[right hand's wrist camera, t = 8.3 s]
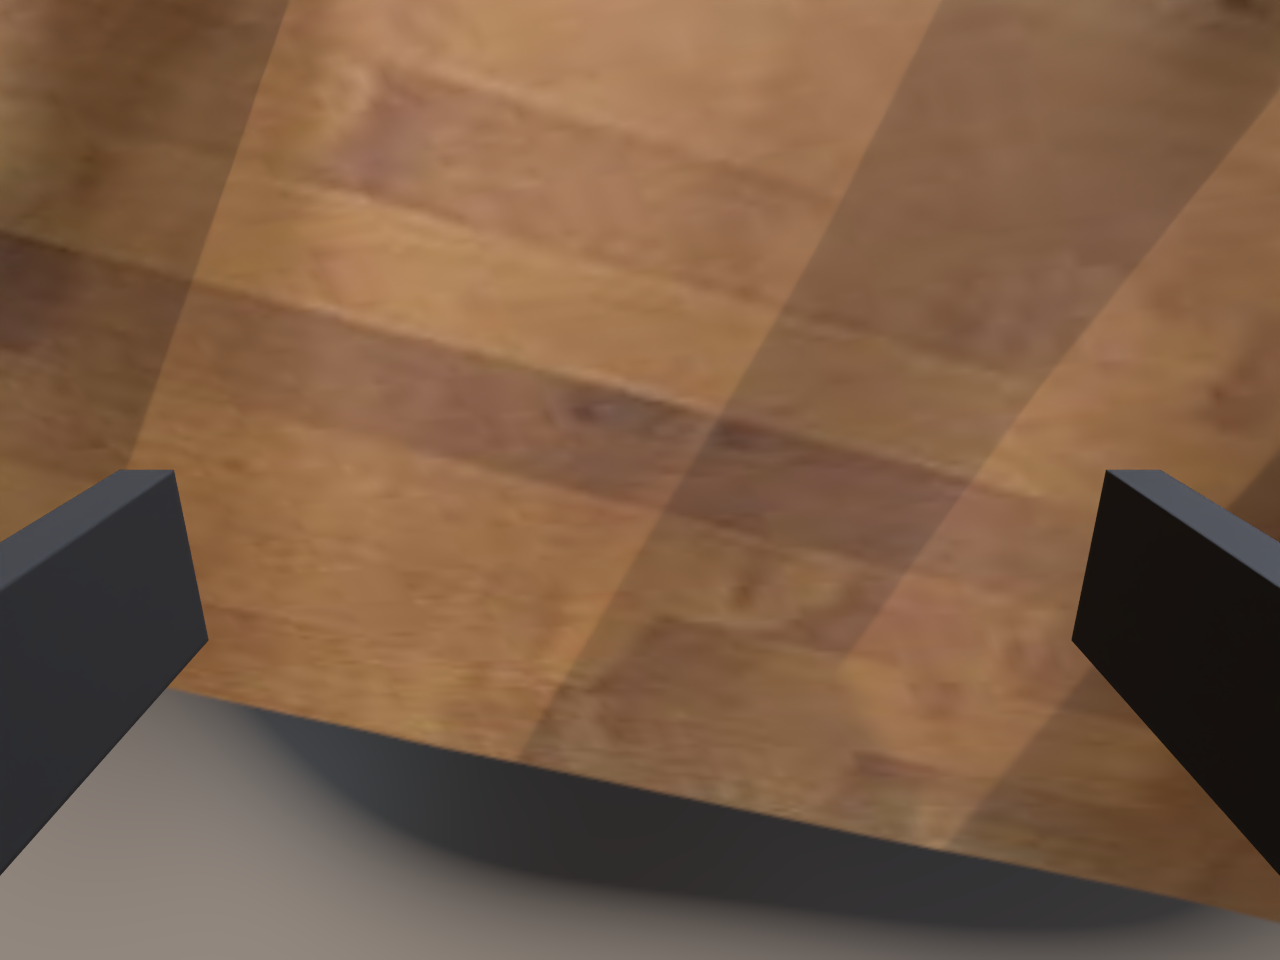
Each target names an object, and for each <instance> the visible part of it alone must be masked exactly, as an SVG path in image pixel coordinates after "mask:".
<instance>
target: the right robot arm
mask: <svg viewBox="0 0 1280 960" xmlns="http://www.w3.org/2000/svg"><path fill="white" fill-rule="evenodd" d="M207 641H208V635H207V630H206V625H205V620H204V616H203V611H202V606H201V601H200V596H199V591H198V586H197V581H196V576H195V571H194V566H193V561H192V557H191V552H190V547H189V542H188V537H187V532H186V527H185V522H184V517H183V512H182V507H181V502H180V497H179V493H178V488H177V483H176V478H175V473H174V470H119V471H117V472H115V473H114V474H112V475H110V476H109V477H107V478H105V479H104V480H102V481H101V482H99V483H97V484H96V485H94V486H92V487H91V488H89V489H87V490H86V491H84V492H82V493H81V494H79V495H78V496H76V497H74V498H73V499H71V500H69V501H68V502H66V503H64V504H63V505H61V506H59V507H58V508H56V509H55V510H53V511H51V512H50V513H48V514H46V515H45V516H43V517H41V518H40V519H38V520H37V521H35V522H33V523H32V524H30V525H28V526H27V527H25V528H23V529H22V530H20V531H18V532H17V533H15V534H14V535H12V536H10V537H9V538H7V539H5V540H4V541H2V542H0V875H1V874H2V873H3V872H4V871H5V870H6V868H7V867H8V866H9V865H10V864H11V863H12V862H13V860H14V859H15V858H16V857H17V856H18V855H19V854H20V853H21V851H22V850H23V849H24V848H25V847H26V846H27V845H28V844H29V842H30V841H31V840H32V839H33V838H34V837H35V836H36V835H37V833H38V832H39V831H40V830H41V829H42V828H43V827H44V825H45V824H46V823H47V822H48V821H49V820H50V819H51V818H52V816H53V815H54V814H55V813H56V812H57V811H58V810H59V809H60V807H61V806H62V805H63V804H64V803H65V802H66V801H67V800H68V798H69V797H70V796H71V795H72V794H73V793H74V792H75V790H76V789H77V788H78V787H79V786H80V785H81V784H82V783H83V781H84V780H85V779H86V778H87V777H88V776H89V775H90V773H91V772H92V771H93V770H94V769H95V768H96V767H97V766H98V764H99V763H100V762H101V761H102V760H103V759H104V758H105V757H106V755H107V754H108V753H109V752H110V751H111V750H112V749H113V748H114V746H115V745H116V744H117V743H118V742H119V741H120V740H121V739H122V737H123V736H124V735H125V734H126V733H127V732H128V731H129V729H130V728H131V727H132V726H133V725H134V724H135V723H136V721H137V720H138V719H139V718H140V717H141V716H142V715H143V714H144V713H145V711H146V710H147V709H148V708H149V707H150V706H151V705H152V703H153V702H154V701H155V700H156V699H157V698H158V697H159V696H160V694H161V693H162V692H163V691H164V690H165V689H166V688H167V687H168V685H169V684H170V683H171V682H172V681H173V680H174V679H175V677H176V676H177V675H178V674H179V673H180V672H181V671H182V670H183V668H184V667H185V666H186V665H187V664H188V663H189V662H190V661H191V659H192V658H193V657H194V656H195V655H196V654H197V653H198V652H199V650H200V649H201V648H202V647H203V646H204V645H205V644H206V642H207ZM1072 641H1073V642H1074V644H1075V645H1076V646H1077V647H1078V648H1079V649H1080V650H1081V652H1082V653H1083V654H1084V655H1085V656H1086V657H1087V658H1088V659H1089V661H1090V662H1091V663H1092V664H1093V665H1094V666H1095V667H1096V668H1097V670H1098V671H1099V672H1100V673H1101V674H1102V675H1103V676H1104V678H1105V679H1106V680H1107V681H1108V682H1109V683H1110V684H1111V685H1112V687H1113V688H1114V689H1115V690H1116V691H1117V692H1118V693H1119V694H1120V696H1121V697H1122V698H1123V699H1124V700H1125V701H1126V702H1127V703H1128V705H1129V706H1130V707H1131V708H1132V709H1133V710H1134V711H1135V713H1136V714H1137V715H1138V716H1139V717H1140V718H1141V719H1142V720H1143V722H1144V723H1145V724H1146V725H1147V726H1148V727H1149V728H1150V729H1151V731H1152V732H1153V733H1154V734H1155V735H1156V736H1157V737H1158V739H1159V740H1160V741H1161V742H1162V743H1163V744H1164V745H1165V746H1166V748H1167V749H1168V750H1169V751H1170V752H1171V753H1172V754H1173V755H1174V757H1175V758H1176V759H1177V760H1178V761H1179V762H1180V763H1181V764H1182V766H1183V767H1184V768H1185V769H1186V770H1187V771H1188V772H1189V774H1190V775H1191V776H1192V777H1193V778H1194V779H1195V780H1196V781H1197V783H1198V784H1199V785H1200V786H1201V787H1202V788H1203V789H1204V790H1205V792H1206V793H1207V794H1208V795H1209V796H1210V797H1211V798H1212V800H1213V801H1214V802H1215V803H1216V804H1217V805H1218V806H1219V807H1220V809H1221V810H1222V811H1223V812H1224V813H1225V814H1226V815H1227V816H1228V818H1229V819H1230V820H1231V821H1232V822H1233V823H1234V824H1235V825H1236V827H1237V828H1238V829H1239V830H1240V831H1241V832H1242V833H1243V835H1244V836H1245V837H1246V838H1247V839H1248V840H1249V841H1250V842H1251V844H1252V845H1253V846H1254V847H1255V848H1256V849H1257V850H1258V851H1259V853H1260V854H1261V855H1262V856H1263V857H1264V858H1265V859H1266V861H1267V862H1268V863H1269V864H1270V865H1271V866H1272V867H1273V868H1274V870H1275V871H1276V872H1277V873H1278V874H1279V875H1280V542H1278V541H1276V540H1275V539H1273V538H1271V537H1270V536H1268V535H1266V534H1265V533H1263V532H1262V531H1260V530H1258V529H1257V528H1255V527H1253V526H1252V525H1250V524H1248V523H1247V522H1245V521H1243V520H1242V519H1240V518H1239V517H1237V516H1235V515H1234V514H1232V513H1230V512H1229V511H1227V510H1225V509H1224V508H1222V507H1221V506H1219V505H1217V504H1216V503H1214V502H1212V501H1211V500H1209V499H1207V498H1206V497H1204V496H1202V495H1201V494H1199V493H1198V492H1196V491H1194V490H1193V489H1191V488H1189V487H1188V486H1186V485H1184V484H1183V483H1181V482H1179V481H1178V480H1176V479H1175V478H1173V477H1171V476H1170V475H1168V474H1166V473H1165V472H1163V471H1161V470H1106V473H1105V478H1104V483H1103V488H1102V493H1101V497H1100V502H1099V507H1098V512H1097V517H1096V522H1095V527H1094V532H1093V537H1092V542H1091V547H1090V552H1089V557H1088V561H1087V566H1086V571H1085V576H1084V581H1083V586H1082V591H1081V596H1080V601H1079V606H1078V611H1077V616H1076V620H1075V625H1074V630H1073V635H1072Z"/></svg>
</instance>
